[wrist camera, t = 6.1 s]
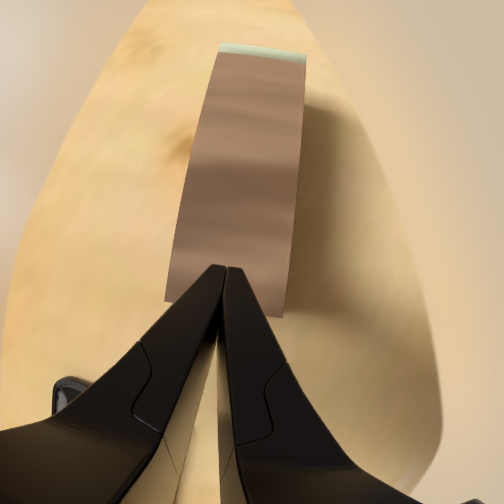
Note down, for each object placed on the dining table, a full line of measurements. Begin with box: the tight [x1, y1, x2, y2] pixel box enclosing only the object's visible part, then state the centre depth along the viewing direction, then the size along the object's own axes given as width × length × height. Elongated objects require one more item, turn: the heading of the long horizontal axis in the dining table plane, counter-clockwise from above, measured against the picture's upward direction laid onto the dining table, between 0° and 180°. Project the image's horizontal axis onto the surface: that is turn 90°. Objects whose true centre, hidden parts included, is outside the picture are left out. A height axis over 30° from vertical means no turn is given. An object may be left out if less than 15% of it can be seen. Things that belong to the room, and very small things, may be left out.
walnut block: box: [164, 42, 307, 318], centre depth 15 cm, size 4×4×13 cm
